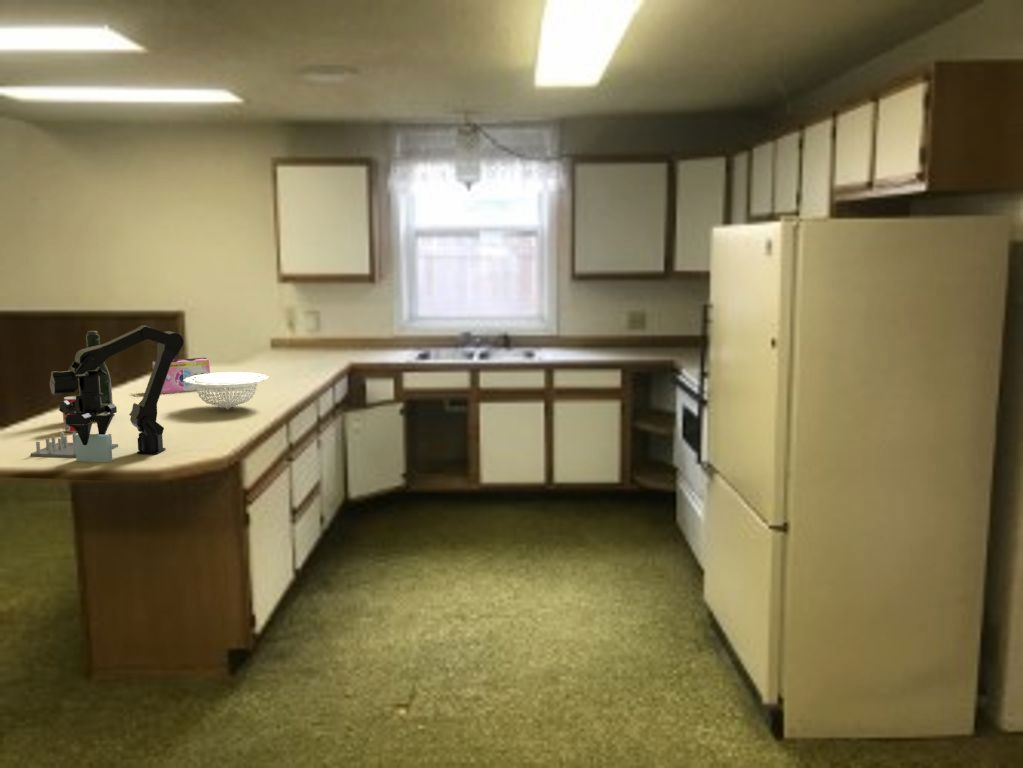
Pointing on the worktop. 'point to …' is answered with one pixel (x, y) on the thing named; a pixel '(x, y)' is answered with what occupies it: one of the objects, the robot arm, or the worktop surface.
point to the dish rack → (60, 447)
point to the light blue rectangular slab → (94, 448)
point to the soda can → (66, 426)
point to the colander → (229, 382)
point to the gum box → (184, 374)
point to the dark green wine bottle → (104, 380)
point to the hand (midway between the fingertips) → (93, 441)
